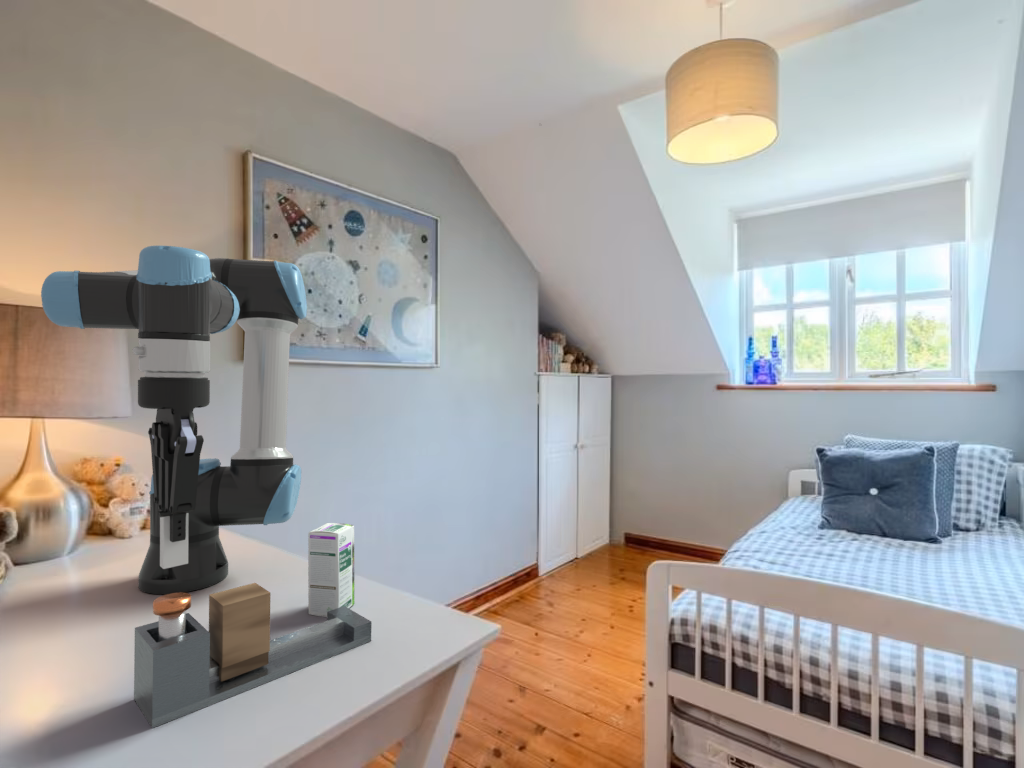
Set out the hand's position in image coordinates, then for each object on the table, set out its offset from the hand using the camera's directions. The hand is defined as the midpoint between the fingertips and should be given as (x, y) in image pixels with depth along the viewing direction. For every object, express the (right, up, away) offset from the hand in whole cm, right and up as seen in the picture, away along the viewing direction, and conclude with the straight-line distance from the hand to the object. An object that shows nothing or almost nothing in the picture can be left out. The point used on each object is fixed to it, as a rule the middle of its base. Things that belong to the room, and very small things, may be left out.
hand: (174, 564), depth 67 cm
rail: (+8, -17, +8) cm, 20 cm away
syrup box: (+11, -17, +27) cm, 34 cm away
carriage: (+5, -16, +6) cm, 17 cm away
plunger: (0, -14, 0) cm, 14 cm away
